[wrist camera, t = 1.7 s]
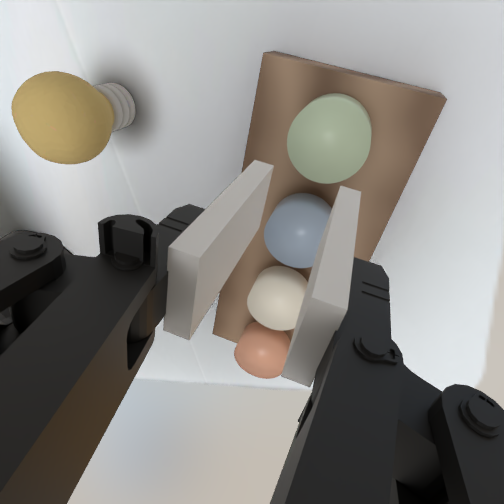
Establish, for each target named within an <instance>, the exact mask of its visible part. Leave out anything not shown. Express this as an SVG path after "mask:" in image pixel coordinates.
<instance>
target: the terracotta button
mask: <svg viewBox="0 0 504 504" xmlns="http://www.w3.org/2000/svg"><path fill="white" fill-rule="evenodd" d="M289 347H290V340H289V337H288V336H287V334H286V333H285V332H284V331H280V330H274V329H270V328H268V327H265V326H264V325H262V324H260V323H259V322H253V323H251V324H249V325H247V326H246V327H245V329H244V331H243V333H242V335H241V337H240V339H239V342H238V344H237V346H236V348H235V351H234V356H235V359H236V361H237V363H238V365H239V366H240V367H241V368H242V369H243V370H245V371H246V372H247V373H249V374H251V375H253V376H256V377H259V378H266V379H268V378H275V377H277V376H279V375H281V374H282V371H283V368H284V364H285V361H286V357H287V354H288V350H289Z"/></svg>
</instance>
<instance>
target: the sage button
mask: <svg viewBox="0 0 504 504" xmlns="http://www.w3.org/2000/svg"><path fill="white" fill-rule="evenodd" d="M371 134H372V127H371V121H370V117H369V115H368V113H367V111H366V109H365V108H364V107H363V105H362V104H361V103H360V102H359V101H357V100H356V99H354V98H352V97H350V96H348V95H345V94H340V93H332V94H326V95H323V96H320V97H318V98H316V99H314V100H313V101H311V102H310V103H309V104H308V105H307V106H306V107H305V108H304V109H303V110H302V111H301V112H300V113H299V114H298V115H297V116H296V117H295V119H294V120H293V122H292V124H291V126H290V129H289V132H288V136H287V150H288V155H289V158H290V160H291V162H292V164H293V165H294V167H295V168H296V169H297V171H298V172H299V173H300V174H302V175H303V176H304V177H306V178H308V179H309V180H312V181H314V182H318V183H325V184H331V183H337V182H341V181H343V180H346V179H347V178H349V177H351V176H352V175H354V174H355V173H356V172H357V171H358V170H359V169H360V168H361V167H362V166H363V164H364V162H365V161H366V159H367V157H368V154H369V151H370V146H371Z"/></svg>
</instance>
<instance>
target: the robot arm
mask: <svg viewBox="0 0 504 504" xmlns="http://www.w3.org/2000/svg"><path fill="white" fill-rule="evenodd" d="M273 168H274V165H270V164H267V163H264V162H260V161H257V160H254V161H253V162H252V163H251V164H250V165H249V166H248V167H247V168H246V169H245V170H244V171H243V172H242V173H241V174H240V175H239V176H238V177H237V178H236V179H235V180H234V181H233V182H232V183H231V184H230V185H229V186H228V187H227V188H226V189H225V190H224V191H223V192H222V193H221V194H220V195H219V196H218V197H217V198H216V199H215V200H214V201H213V202H212V203H211V204H210V205H209V206H208V207H207V208H206V209H203V208H200V207H197V206H194V205H191V204H188V205H185V206H182V207H179V208H176V209H175V210H174V211H172V212H171V213H170V214H169V215H168V216H167V217H166V218H164V219H163V220H162V221H161V222H160V223H159V225H158V224H157V225H156V224H154V223H153V222H152V221H151V220H149V219H147V218H144V217H141V216H136V215H130V214H127V215H115V216H111V217H107V218H105V219H103V220H101V221H100V222H98V231H99V244H100V254H99V255H98V256H97V257H86V256H77V255H71V254H70V253H69V252H68V251H67V250H66V249H64V248H63V245H62V242H61V241H60V240H59V239H58V238H56V237H55V236H52V235H49V234H45V233H35V232H31V231H15V232H12V233H10V234H8V235H6V236H5V237H3V238H1V239H0V504H67V502H68V500H69V498H70V496H71V495H72V493H73V491H74V489H75V487H76V485H77V484H78V482H79V480H80V478H81V476H82V474H83V472H84V471H85V468H86V467H87V465H88V463H89V461H90V459H91V458H92V455H93V454H94V452H95V450H96V448H97V446H98V444H99V443H100V441H101V439H102V437H103V435H104V433H105V431H106V429H107V428H108V426H109V424H110V422H111V420H112V418H113V417H114V415H115V413H116V411H117V409H118V407H119V405H120V403H121V401H122V400H123V398H124V396H125V394H126V392H127V390H128V389H129V387H130V385H131V383H132V381H133V379H134V377H135V376H136V374H137V372H138V370H139V368H140V366H141V364H142V362H143V361H144V359H145V357H146V355H147V353H148V351H149V349H150V348H151V346H152V344H153V341H154V337H155V327H156V326H157V325H158V324H159V322H160V321H161V320H162V318H163V317H164V327H163V330H164V331H167V332H169V333H172V334H175V335H177V336H180V337H182V338H185V339H187V340H190V338H191V337H192V335H193V334H194V332H195V330H196V329H197V327H198V326H199V324H200V322H201V321H202V319H203V317H204V316H205V314H206V313H207V311H208V309H209V308H210V306H211V305H212V303H213V301H214V300H215V298H216V297H217V295H218V293H219V292H220V290H221V289H222V287H223V285H224V284H225V282H226V280H227V279H228V277H229V276H230V274H231V272H232V271H233V269H234V268H235V266H236V264H237V263H238V261H239V260H240V258H241V256H242V255H243V253H244V251H245V250H246V248H247V247H248V245H249V243H250V242H251V240H252V239H253V237H254V235H255V234H256V232H257V231H258V229H259V227H260V223H261V219H262V214H263V210H264V206H265V202H266V197H267V193H268V189H269V185H270V180H271V176H272V172H273ZM360 198H361V192H360V191H357V190H354V189H350V188H347V187H344V186H340V188H339V191H338V194H337V197H336V199H335V202H334V205H333V208H332V210H331V213H330V216H329V219H328V221H327V224H326V227H325V230H324V232H323V235H322V238H321V241H320V243H319V246H318V249H317V253H316V256H315V260H314V263H313V267H312V270H311V274H310V277H309V281H308V284H307V288H306V291H305V295H304V298H303V302H302V305H301V308H300V312H299V315H298V319H297V322H296V326H295V329H294V333H293V336H292V340H291V343H290V347H289V350H288V354H287V357H286V361H285V364H284V368H283V371H282V375H281V376H282V377H285V378H287V379H290V380H292V381H295V382H297V383H300V384H303V385H305V386H308V387H310V386H311V384H312V382H313V380H314V385H313V390H312V393H311V396H310V397H309V399H308V401H307V403H306V406H305V407H304V410H303V411H302V413H301V415H300V417H299V419H298V422H299V425H298V428H297V431H296V433H295V436H294V439H293V442H292V444H291V447H290V450H289V453H288V455H287V458H286V461H285V464H284V466H283V469H282V472H281V475H280V478H279V480H278V483H277V486H276V488H275V491H274V494H273V497H272V500H271V502H270V504H504V410H503V409H502V408H501V407H500V406H499V405H498V404H497V403H496V402H495V401H494V400H493V399H491V398H490V397H488V396H487V395H486V394H484V393H483V392H481V391H479V390H477V389H474V388H472V387H470V386H467V385H459V384H454V385H451V386H449V387H446V388H445V389H444V391H443V392H442V391H440V390H439V389H437V388H436V387H434V386H432V385H431V384H429V383H428V382H426V381H425V380H423V379H421V378H420V377H418V376H417V375H416V374H414V373H413V372H412V371H410V370H409V369H408V368H407V367H406V366H405V365H404V363H403V357H402V353H401V351H400V350H399V348H398V346H397V344H396V343H395V342H394V341H393V340H392V339H391V321H390V303H389V301H390V295H389V278H388V276H387V275H386V273H385V271H384V269H383V268H382V266H380V265H377V264H374V263H371V262H368V261H365V260H362V259H359V258H356V257H354V250H355V241H356V233H357V224H358V215H359V207H360ZM314 378H315V379H314Z"/></svg>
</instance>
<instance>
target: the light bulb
mask: <svg viewBox="0 0 504 504" xmlns="http://www.w3.org/2000/svg"><path fill="white" fill-rule="evenodd" d="M135 112H136V109H135V104H134V100H133V98H132V96H131V95H130V93H129V92H128V91H127V90H126V89H125V88H124V87H123V86H121V85H119V84H117V83H106V84H99V85H94V86H92V85H90V84H89V83H88V82H86V81H85V80H83V79H81V78H79V77H77V76H74V75H72V74H69V73H64V72H59V71H52V72H44V73H40V74H37V75H35V76H33V77H31V78H30V79H28V80H26V81H25V82H24V83H23V84H22V85H21V87H20V88H19V89H18V90H17V92H16V94H15V96H14V98H13V101H12V115H13V119H14V122H15V124H16V127H17V129H18V131H19V133H20V135H21V137H22V138H23V140H24V141H25V142H26V143H27V145H28V146H29V147H30V148H31V149H32V150H33V151H34V152H35V153H36V154H37V155H39V156H40V157H42V158H44V159H46V160H48V161H51V162H55V163H60V164H78V163H83V162H86V161H89V160H91V159H93V158H95V157H96V156H97V155H99V154H100V153H101V152H102V151H103V149H104V148H105V147H106V145H107V143H108V141H109V138H110V135H111V132H114V131H116V130H119V129H121V128H125V127H127V126H129V125H130V124H131V123H132V122H133V120H134V118H135Z"/></svg>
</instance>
